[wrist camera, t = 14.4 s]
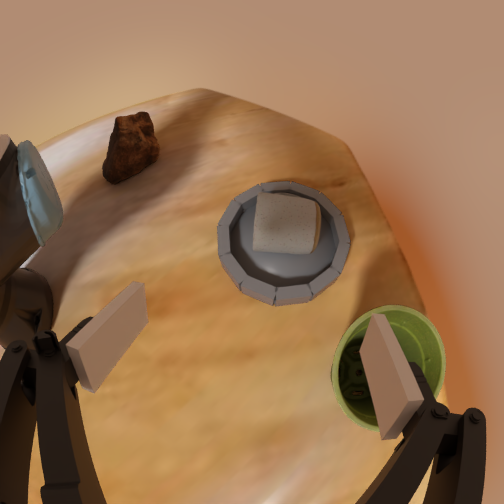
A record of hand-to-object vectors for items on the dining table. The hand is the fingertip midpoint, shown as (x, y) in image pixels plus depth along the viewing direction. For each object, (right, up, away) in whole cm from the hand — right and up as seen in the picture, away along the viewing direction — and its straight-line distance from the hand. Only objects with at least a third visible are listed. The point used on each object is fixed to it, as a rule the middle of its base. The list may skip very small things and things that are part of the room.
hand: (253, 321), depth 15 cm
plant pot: (+13, -11, +16) cm, 23 cm away
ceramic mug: (+4, +7, +23) cm, 25 cm away
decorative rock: (-21, +19, +31) cm, 43 cm away
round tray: (+4, +5, +23) cm, 24 cm away
